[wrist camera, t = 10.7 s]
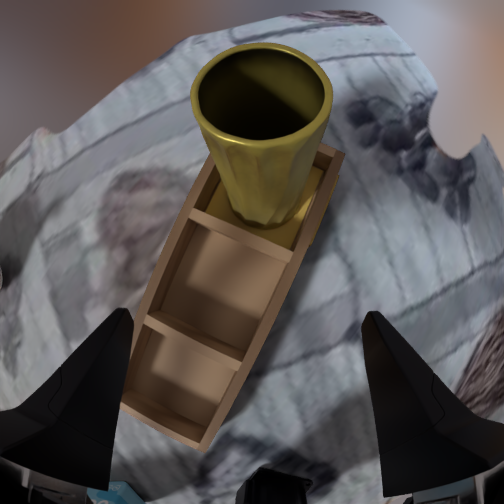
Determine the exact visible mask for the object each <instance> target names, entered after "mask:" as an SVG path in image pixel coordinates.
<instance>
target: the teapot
mask: <svg viewBox="0 0 504 504" xmlns="http://www.w3.org/2000/svg"><path fill="white" fill-rule="evenodd" d="M1 287H2V270H1V267H0V290H1Z"/></svg>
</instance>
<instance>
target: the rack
mask: <svg viewBox="0 0 504 504" xmlns="http://www.w3.org/2000/svg"><path fill="white" fill-rule="evenodd" d="M344 156H345V153H343V152H341V151H338V150H336V149H334V148H332V147H330V146H328V145H325V144H323V143H321V142H320V144H319V147H318V149H317V152H316V155H315V158H314V161H313V164H312V167H311V170H310V173H309V176H308V179H307V182H306V185H305V188H304V191H303V194H302V198H301V203H300V206H299V209H298V211H297V212H296V214H295V215H294V216H293V217H292V218H291V219H290V220H289V221H288V222H287V223H285V224H284V225H282V226H280V227H277V228H273V229H257V228H253V227H250V226H248V225H246V224H244V223H243V222H242V221H241V220H240V219H239V218H237V217H236V216H235V214H234V213H233V212H232V210H231V208H230V205H229V201H228V196H227V190H226V188H225V186H224V184H223V182H222V179H221V177H220V173H219V171H218V169H217V167H216V164H215V162H214V160H213V158H212V156H211V153H210V154H209V156H208V158H207V160H206V161H205V163H204V165H203V167H202V169H201V171H200V173H199V175H198V177H197V179H196V180H195V182H194V184H193V186H192V188H191V190H190V192H189V194H188V196H187V198H186V200H185V202H184V205H183V207H182V209H181V211H180V213H179V215H178V217H177V219H176V221H175V223H174V226H173V228H172V230H171V232H170V234H169V236H168V239H167V241H166V243H165V245H164V248H163V250H162V252H161V255H160V257H159V259H158V262H157V264H156V266H155V269H154V271H153V273H152V276H151V278H150V281H149V283H148V286H147V288H146V291H145V293H144V296H143V298H142V301H141V303H140V306H139V309H138V311H137V314H136V317H135V319H134V332H133V339H132V347H131V355H130V361H129V366H128V371H127V375H126V380H125V384H124V389H123V394H122V399H121V404H120V409H122V410H123V411H125V412H126V413H128V414H130V415H131V416H133V417H135V418H136V419H138V420H140V421H141V422H143V423H145V424H147V425H148V426H150V427H152V428H154V429H156V430H158V431H159V432H161V433H163V434H165V435H167V436H169V437H171V438H173V439H175V440H177V441H179V442H181V443H183V444H186V445H188V446H190V447H192V448H194V449H197V450H199V451H201V452H204V453H206V451H207V449H208V447H209V446H210V444H211V442H212V440H213V439H214V437H215V435H216V433H217V432H218V430H219V428H220V426H221V424H222V423H223V421H224V419H225V417H226V415H227V413H228V412H229V410H230V408H231V406H232V404H233V402H234V400H235V399H236V397H237V395H238V393H239V391H240V389H241V387H242V385H243V383H244V381H245V379H246V378H247V376H248V374H249V372H250V370H251V368H252V366H253V364H254V362H255V360H256V358H257V356H258V354H259V352H260V350H261V348H262V346H263V344H264V342H265V340H266V338H267V336H268V334H269V332H270V329H271V327H272V325H273V323H274V321H275V319H276V317H277V315H278V313H279V311H280V308H281V306H282V304H283V302H284V300H285V298H286V295H287V293H288V291H289V289H290V287H291V285H292V282H293V280H294V278H295V276H296V273H297V271H298V269H299V267H300V264H301V262H302V260H303V258H304V255H305V253H306V251H307V248H308V247H310V246H311V245H312V242H313V240H314V237H315V235H316V233H317V230H318V228H319V226H320V223H321V221H322V218H323V216H324V213H325V211H326V208H327V206H328V203H329V201H330V198H331V196H332V193H333V191H334V188H335V186H336V183H337V181H338V178H339V175H338V172H339V170H340V167H341V164H342V162H343V159H344Z"/></svg>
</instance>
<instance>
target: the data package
mask: <svg viewBox="0 0 504 504" xmlns="http://www.w3.org/2000/svg"><path fill="white" fill-rule="evenodd" d="M87 494H88V496H89V497H90V499H91V500H92V502H93V503H94V504H146V503H145V502H144V501H143V500H142V499H141V498H140V497H139V496H138V495H137V494H136V493H135V492H134V490H133V489H132V488H131V487H130V486H129V485H128V484H127V483H126V482H124V481H112V482H109V489H108V492H107V491H102V490H97V489H92V488H88V489H87Z"/></svg>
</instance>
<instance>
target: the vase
mask: <svg viewBox="0 0 504 504" xmlns="http://www.w3.org/2000/svg"><path fill="white" fill-rule="evenodd" d="M190 99H191V104H192V110H193V113H194V116H195V118H196V120H197V122H198V124H199V127H200V129H201V132H202V135H203V137H204V140H205V142H206V144H207V147H208V149H209V151H210V153H211V156H212V158H213V160H214V162H215V164H216V167H217V169H218V171H219V173H220V177H221V179H222V182H223V184H224V186H225V188H226V190H227V196H228V201H229V205H230V208H231V210H232V212H233V213H234V214H235V216H236V217H237V218H239V219H240V220H241V221H242V222H243V223H244V224H246V225H248V226H250V227H253V228H257V229H273V228H277V227H280V226H282V225H284V224H285V223H287V222H288V221H289V220H290V219H291V218H292V217H293V216H294V215H295V214H296V212H297V211H298V209H299V206H300V203H301V198H302V194H303V191H304V188H305V185H306V182H307V179H308V176H309V173H310V170H311V167H312V164H313V161H314V158H315V155H316V152H317V149H318V147H319V144H320V142H321V139H322V137H323V134H324V132H325V129H326V126H327V123H328V120H329V116H330V112H331V108H332V102H333V88H332V84H331V82H330V80H329V78H328V76H327V75H326V73H325V72H324V71H323V69H322V68H321V67H320V66H319V65H318V64H317V63H316V62H315V61H314V60H313V59H311V58H310V57H308V56H307V55H305V54H304V53H302V52H300V51H298V50H296V49H294V48H291V47H288V46H285V45H281V44H276V43H251V44H244V45H239V46H235V47H233V48H230V49H228V50H226V51H224V52H222V53H220V54H218V55H217V56H216V57H214V58H213V59H212V60H211V61H209V62H208V63H207V64H206V65H205V66H204V67H203V68H202V69H201V70H200V71H199V73H198V75H197V76H196V78H195V80H194V82H193V84H192V87H191V91H190Z"/></svg>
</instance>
